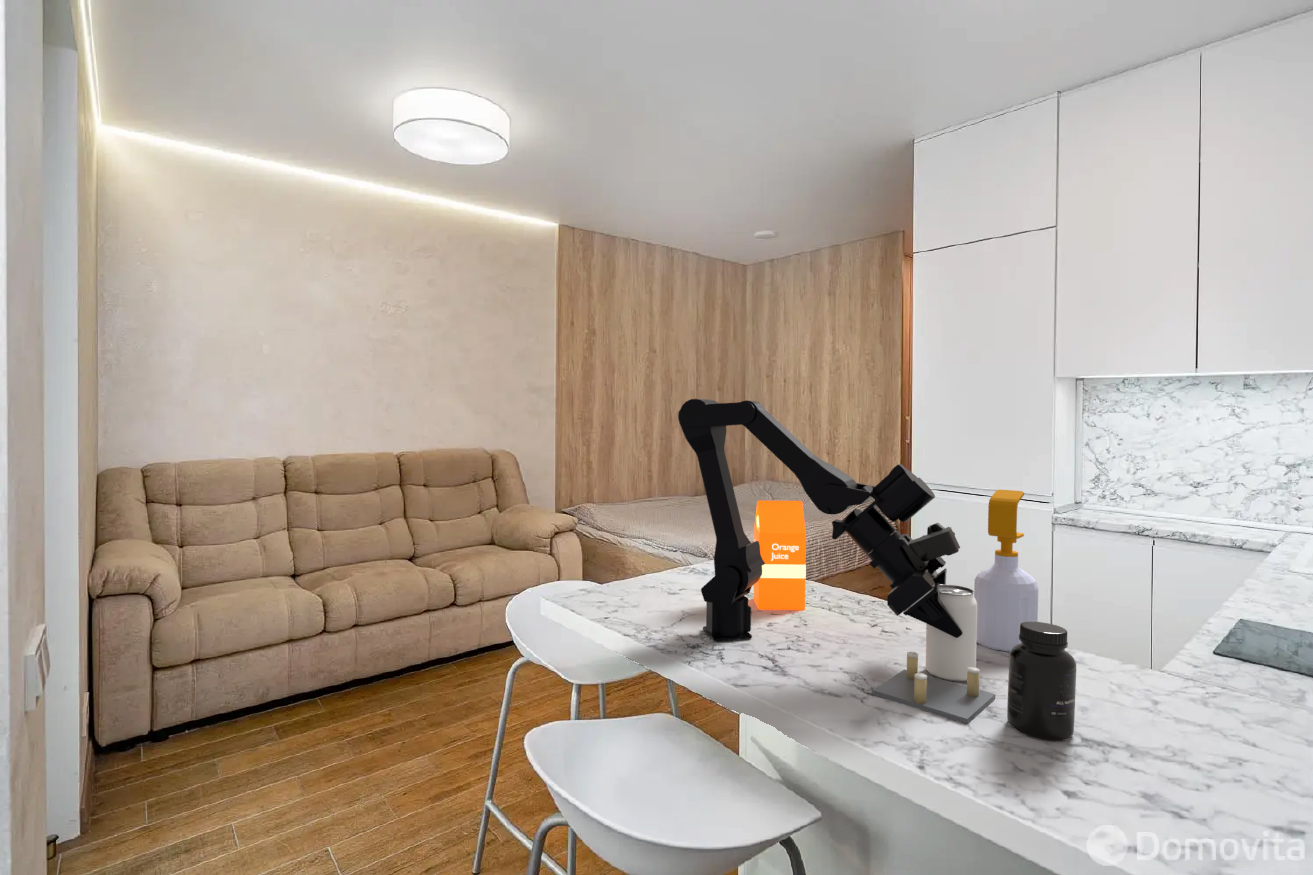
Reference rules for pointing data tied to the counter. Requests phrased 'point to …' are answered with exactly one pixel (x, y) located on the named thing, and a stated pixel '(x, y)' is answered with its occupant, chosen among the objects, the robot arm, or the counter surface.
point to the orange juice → (781, 555)
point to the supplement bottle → (1042, 683)
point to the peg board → (936, 692)
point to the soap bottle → (1004, 580)
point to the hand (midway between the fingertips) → (962, 628)
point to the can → (949, 652)
